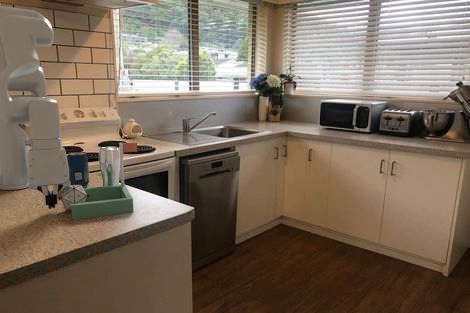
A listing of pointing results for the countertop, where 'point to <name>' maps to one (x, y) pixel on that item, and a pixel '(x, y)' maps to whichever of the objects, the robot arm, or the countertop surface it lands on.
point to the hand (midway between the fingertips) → (52, 207)
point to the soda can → (78, 168)
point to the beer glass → (109, 165)
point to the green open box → (107, 195)
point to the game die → (73, 196)
